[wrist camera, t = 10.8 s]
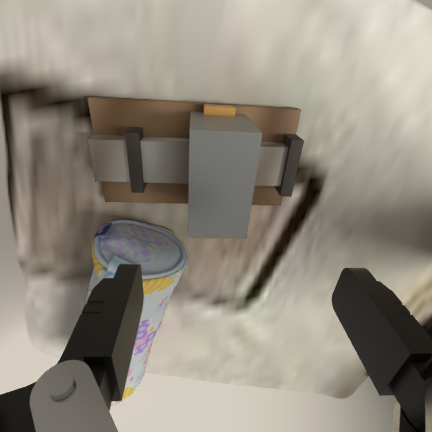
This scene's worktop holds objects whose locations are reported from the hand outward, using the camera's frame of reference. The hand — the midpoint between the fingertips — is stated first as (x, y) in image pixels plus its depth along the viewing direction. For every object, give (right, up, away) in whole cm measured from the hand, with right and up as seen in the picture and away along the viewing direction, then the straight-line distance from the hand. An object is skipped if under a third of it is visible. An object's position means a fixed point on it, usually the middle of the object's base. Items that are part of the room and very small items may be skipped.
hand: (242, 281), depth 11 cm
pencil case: (-11, -6, +22) cm, 25 cm away
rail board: (-3, +8, +14) cm, 16 cm away
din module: (-1, +8, +13) cm, 15 cm away
